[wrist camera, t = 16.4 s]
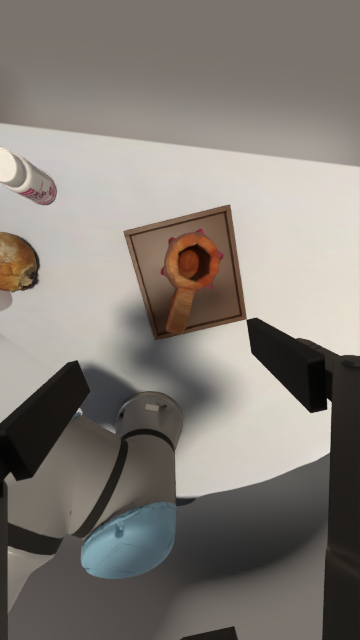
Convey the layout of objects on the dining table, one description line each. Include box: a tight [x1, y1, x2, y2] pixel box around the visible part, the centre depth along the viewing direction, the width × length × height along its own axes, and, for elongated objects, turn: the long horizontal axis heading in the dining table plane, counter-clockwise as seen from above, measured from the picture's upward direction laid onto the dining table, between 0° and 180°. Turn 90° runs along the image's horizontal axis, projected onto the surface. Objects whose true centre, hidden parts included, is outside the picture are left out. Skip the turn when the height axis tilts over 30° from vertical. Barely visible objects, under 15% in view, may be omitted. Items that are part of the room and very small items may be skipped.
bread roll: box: [0, 232, 37, 292], centre depth 34 cm, size 10×10×8 cm
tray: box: [124, 205, 247, 340], centre depth 37 cm, size 21×19×2 cm
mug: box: [160, 228, 224, 335], centre depth 30 cm, size 15×8×15 cm, turn 164°
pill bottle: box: [0, 147, 56, 204], centre depth 29 cm, size 5×5×8 cm
